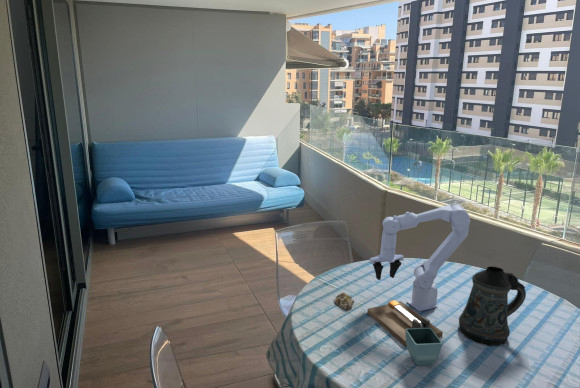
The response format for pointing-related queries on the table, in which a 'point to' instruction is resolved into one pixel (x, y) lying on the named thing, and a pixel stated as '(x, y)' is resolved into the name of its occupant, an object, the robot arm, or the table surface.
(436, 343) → the flower pot
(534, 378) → the table surface
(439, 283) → the table surface
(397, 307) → the press lever
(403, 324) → the base
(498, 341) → the beer stein
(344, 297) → the mineral rock
